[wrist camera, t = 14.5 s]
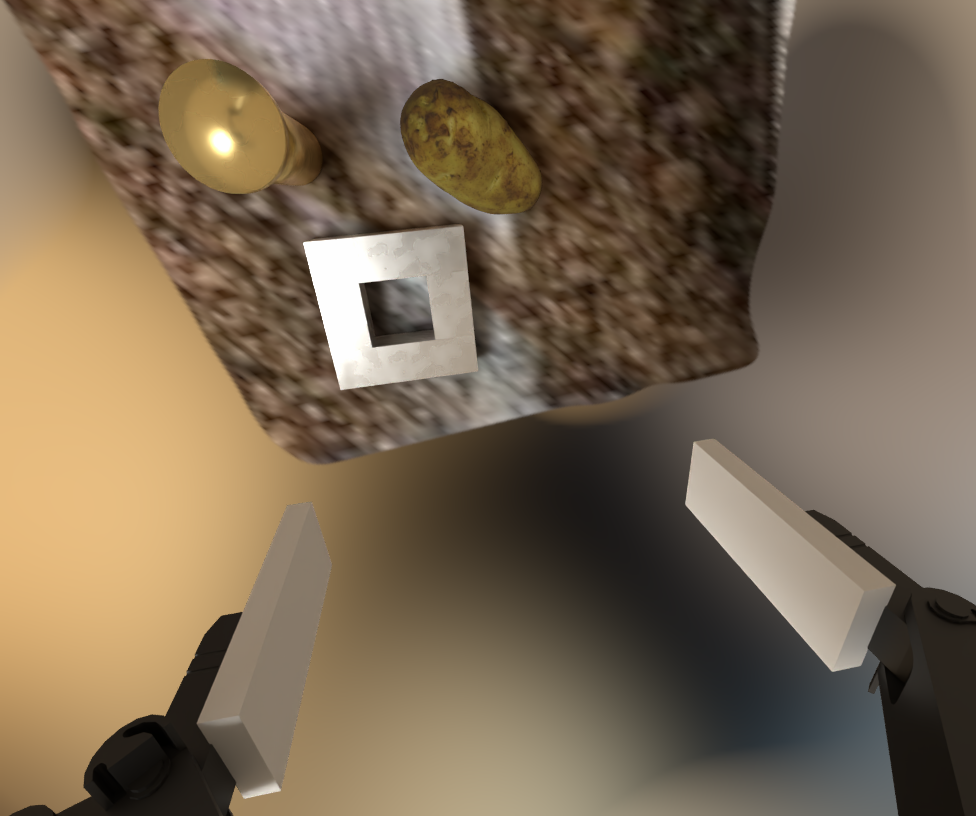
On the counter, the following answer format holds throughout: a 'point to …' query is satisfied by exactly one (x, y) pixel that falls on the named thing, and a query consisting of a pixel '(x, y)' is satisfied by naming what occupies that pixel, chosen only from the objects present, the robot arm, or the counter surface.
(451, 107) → the potato
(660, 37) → the counter surface
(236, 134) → the gold tall flared cylinder
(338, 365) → the housing
